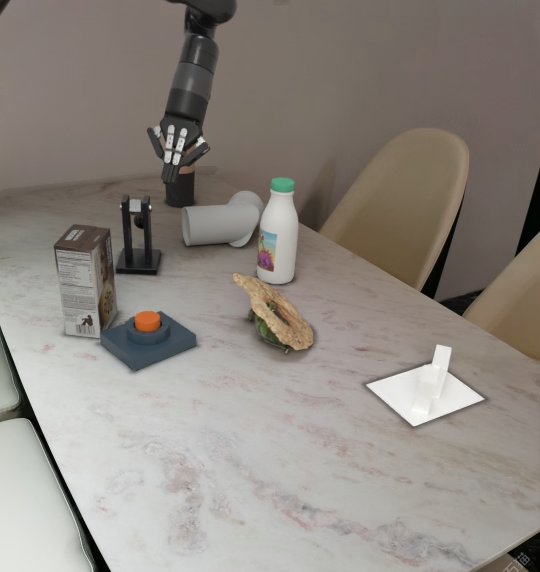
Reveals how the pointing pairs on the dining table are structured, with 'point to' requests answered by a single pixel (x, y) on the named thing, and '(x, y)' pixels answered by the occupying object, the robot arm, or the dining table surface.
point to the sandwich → (275, 315)
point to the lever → (137, 212)
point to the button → (147, 321)
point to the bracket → (135, 257)
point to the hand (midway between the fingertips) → (167, 184)
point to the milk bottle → (278, 234)
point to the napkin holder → (426, 390)
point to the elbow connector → (223, 221)
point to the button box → (147, 342)
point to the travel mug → (182, 186)
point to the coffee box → (86, 280)
